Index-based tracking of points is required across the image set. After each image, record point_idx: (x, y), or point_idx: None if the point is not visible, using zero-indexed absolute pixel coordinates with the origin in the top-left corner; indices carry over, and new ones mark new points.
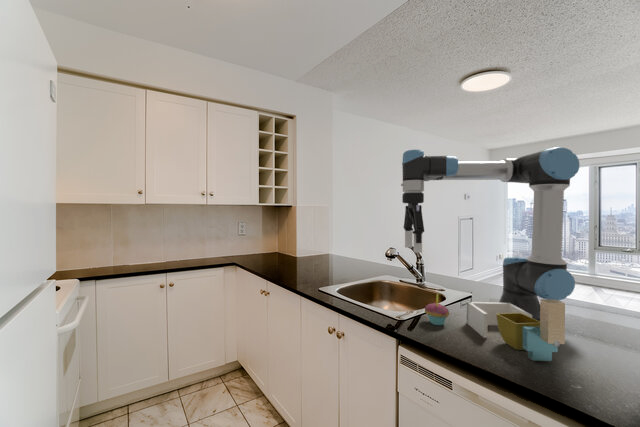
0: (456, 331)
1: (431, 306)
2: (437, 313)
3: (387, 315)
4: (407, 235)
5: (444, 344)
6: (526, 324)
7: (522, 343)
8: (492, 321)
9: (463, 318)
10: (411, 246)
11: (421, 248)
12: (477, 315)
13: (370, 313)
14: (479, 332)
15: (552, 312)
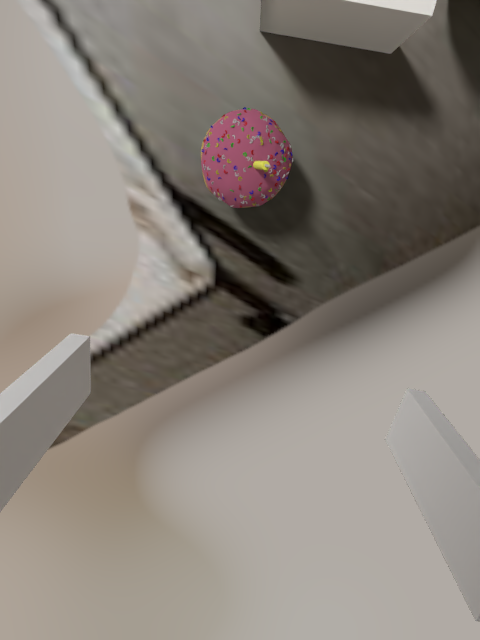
0: (324, 129)
1: (252, 189)
2: (285, 180)
3: (174, 303)
4: (13, 467)
5: (397, 223)
6: None
7: None
8: None
9: (211, 11)
10: (84, 348)
11: (440, 418)
12: (364, 18)
13: (158, 347)
14: (362, 46)
15: None
